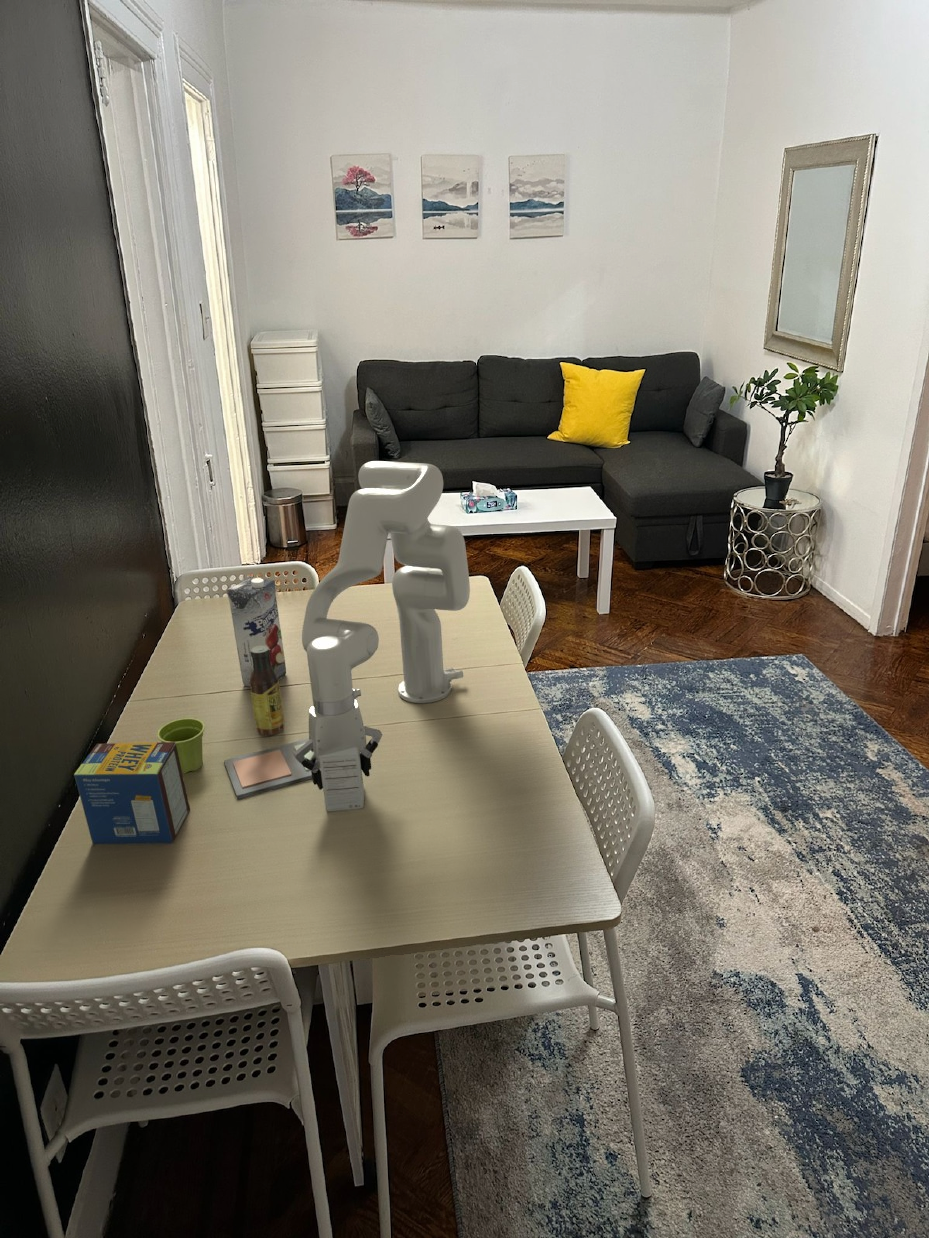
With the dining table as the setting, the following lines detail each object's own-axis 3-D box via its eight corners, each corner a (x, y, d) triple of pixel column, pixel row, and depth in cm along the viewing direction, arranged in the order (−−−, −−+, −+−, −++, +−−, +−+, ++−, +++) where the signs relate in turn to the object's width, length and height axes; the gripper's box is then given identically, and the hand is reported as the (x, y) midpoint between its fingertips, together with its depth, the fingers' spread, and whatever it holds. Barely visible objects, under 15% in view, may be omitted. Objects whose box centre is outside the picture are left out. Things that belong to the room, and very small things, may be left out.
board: (343, 732, 195) (342, 728, 195) (363, 764, 183) (362, 759, 183) (224, 763, 186) (223, 759, 185) (237, 798, 174) (236, 794, 174)
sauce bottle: (278, 738, 194) (266, 657, 186) (252, 736, 195) (239, 655, 187) (289, 722, 200) (278, 643, 192) (263, 720, 201) (251, 642, 193)
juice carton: (237, 687, 216) (220, 585, 205) (262, 668, 225) (246, 569, 214) (268, 692, 213) (252, 589, 202) (291, 673, 222) (278, 573, 211)
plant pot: (219, 756, 188) (213, 721, 185) (193, 781, 180) (186, 745, 177) (182, 750, 191) (175, 715, 188) (155, 774, 183) (147, 738, 180)
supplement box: (326, 790, 176) (320, 735, 170) (364, 786, 176) (358, 732, 171) (324, 812, 169) (317, 756, 164) (363, 809, 169) (358, 753, 164)
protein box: (113, 810, 172) (96, 742, 166) (191, 809, 172) (177, 741, 165) (90, 845, 163) (72, 774, 157) (173, 844, 162) (157, 773, 156)
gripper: (371, 682, 170) (378, 758, 177) (282, 703, 164) (293, 781, 171) (384, 699, 163) (391, 777, 171) (292, 722, 157) (303, 802, 164)
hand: (342, 779), depth 171 cm, fingers closed on supplement box, 8 cm apart
